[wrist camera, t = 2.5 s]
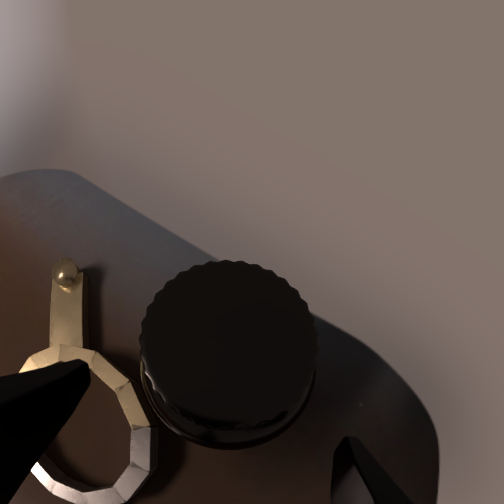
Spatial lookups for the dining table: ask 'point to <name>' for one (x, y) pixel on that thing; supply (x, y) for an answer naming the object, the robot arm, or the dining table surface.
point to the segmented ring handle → (111, 496)
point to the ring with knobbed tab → (85, 342)
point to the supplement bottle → (228, 355)
